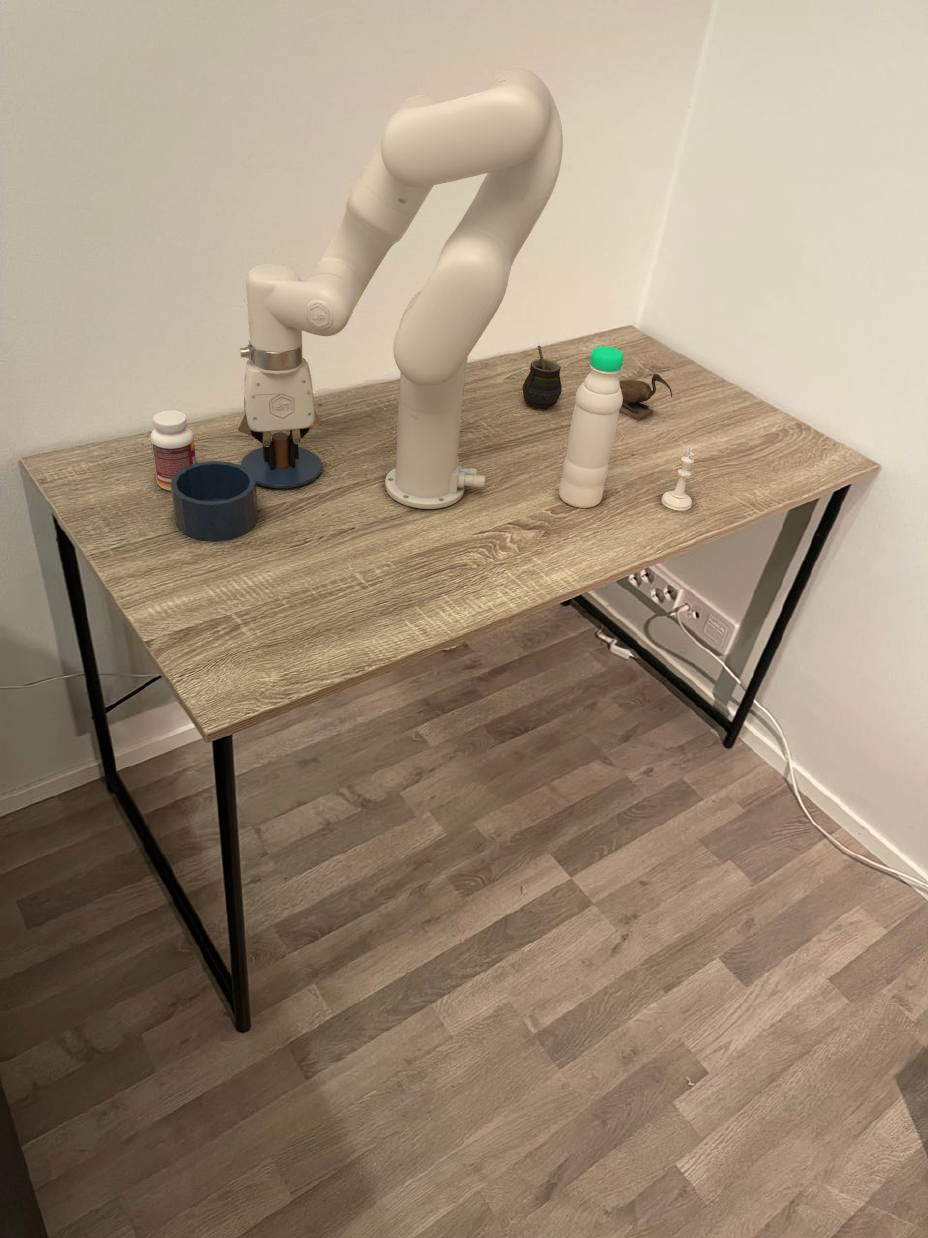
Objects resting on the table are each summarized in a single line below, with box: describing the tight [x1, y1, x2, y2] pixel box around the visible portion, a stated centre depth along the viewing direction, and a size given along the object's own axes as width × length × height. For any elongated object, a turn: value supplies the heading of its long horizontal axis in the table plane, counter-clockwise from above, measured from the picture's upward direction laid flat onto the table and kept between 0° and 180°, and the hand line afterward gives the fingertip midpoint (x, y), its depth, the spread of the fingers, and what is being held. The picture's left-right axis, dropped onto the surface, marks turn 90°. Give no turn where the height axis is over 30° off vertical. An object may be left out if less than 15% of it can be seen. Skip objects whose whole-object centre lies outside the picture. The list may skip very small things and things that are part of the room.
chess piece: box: [660, 447, 695, 512], centre depth 149 cm, size 5×5×10 cm
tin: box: [171, 460, 259, 542], centre depth 135 cm, size 12×12×6 cm
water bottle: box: [558, 345, 625, 509], centre depth 142 cm, size 7×7×25 cm
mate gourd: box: [522, 345, 563, 411], centre depth 172 cm, size 7×8×10 cm
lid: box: [240, 432, 322, 489], centre depth 147 cm, size 13×13×6 cm
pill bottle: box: [150, 409, 197, 492], centre depth 140 cm, size 6×6×11 cm
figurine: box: [619, 373, 673, 421], centre depth 173 cm, size 14×4×9 cm, turn 46°
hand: (281, 462), depth 148 cm, fingers closed on lid, 2 cm apart
